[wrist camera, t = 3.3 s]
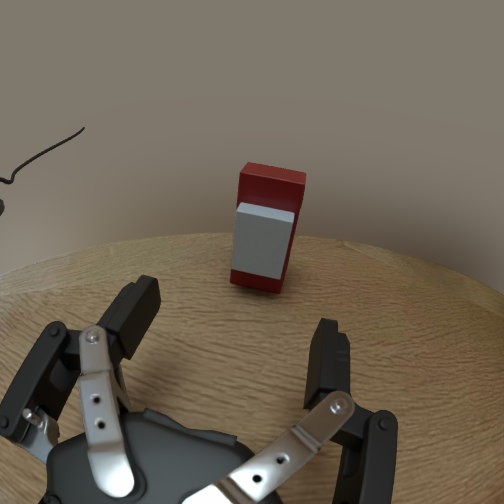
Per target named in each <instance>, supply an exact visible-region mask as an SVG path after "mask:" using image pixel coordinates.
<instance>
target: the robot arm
mask: <svg viewBox="0 0 504 504" xmlns="http://www.w3.org/2000/svg"><path fill="white" fill-rule="evenodd" d="M84 129H85V128H84V127H83V128H82V129H81V130H80V131H79V132H77V133H76V134H74V135H73V136H71V137H69V138H67V139H65V140H63V141H61V142H59V143H58V144H56V145H54V146H52V147H50V148H48V149H46V150H44V151H43V152H41V153H39V154H37V155H36V156H34V157H32V158H31V159H29V160H28V161H26V162H25V163H23V164H22V165H20V166H19V167H18V168H17V169H15V170H14V172H13V173H12V176H11V180H6V179H4V178H1V177H0V182H3V183H5V184H11V183H13V181H14V177H15V174H16V173H17V172H18V171H19V170H20V169H21V168H23V167H24V166H26V165H27V164H29V163H30V162H31V161H33V160H35V159H36V158H38V157H39V156H41V155H43V154H44V153H47V152H48V151H50V150H52V149H54V148H56V147H57V146H59V145H61V144H63V143H65V142H67V141H68V140H71V139H72V138H74V137H76V136H77V135H78V134H80V133H81V132H82V131H83V130H84ZM160 304H161V297H160V291H159V285H158V280H157V279H156V278H153V277H150V276H146V275H141V276H140V278H139V279H138V280H137V282H136V283H133V282H131V283H129V284H128V285H126V286H125V287H123V289H122V290H121V291H120V293H119V294H118V296H117V297H116V298H115V299H114V301H113V303H111V305H110V306H109V307H108V309H107V310H106V312H105V313H104V314H103V316H102V317H101V319H100V320H99V322H98V323H97V324H96V325H91V326H88V327H86V328H85V329H83V330H82V331H79V330H69V329H67V328H66V326H65V325H64V323H62V322H60V321H54V322H51V323H50V324H48V325H47V326H46V327H45V329H44V330H43V332H42V333H41V335H40V336H39V338H38V339H37V341H36V342H35V344H34V346H33V347H32V349H31V350H30V352H29V353H28V355H27V357H26V358H25V360H24V362H23V363H22V365H21V367H20V369H19V370H18V372H17V374H16V375H15V377H14V379H13V381H12V383H11V385H10V386H9V388H8V390H7V392H6V394H5V396H4V398H3V400H2V402H1V404H0V435H1V436H3V437H4V438H6V439H8V440H9V441H10V442H11V443H13V444H15V445H17V446H18V447H20V448H22V449H24V450H26V451H27V452H28V453H30V454H31V455H32V456H34V457H35V458H36V459H38V460H39V461H41V462H42V463H43V464H45V465H46V469H47V489H46V493H45V495H44V496H43V498H42V499H41V501H40V502H39V503H38V504H283V502H282V500H281V499H280V497H279V495H278V494H277V492H276V490H275V489H276V488H277V487H279V486H280V485H281V484H283V483H284V482H285V481H286V480H287V479H289V478H290V477H291V476H292V475H293V474H295V473H296V472H297V471H298V470H299V469H300V468H301V467H303V466H304V465H305V464H306V463H307V462H308V461H309V460H310V459H311V458H312V457H314V456H315V455H316V454H317V453H318V452H319V450H320V449H321V447H322V446H323V445H324V444H325V443H326V442H327V441H328V440H330V441H333V442H335V443H337V444H340V445H342V446H343V448H342V455H341V461H340V467H339V472H338V477H337V482H336V487H335V492H334V497H333V501H332V504H391V499H392V492H393V484H394V476H395V466H396V453H397V434H398V422H397V419H396V417H395V416H394V414H393V413H391V412H390V411H387V410H380V411H377V412H375V413H374V412H371V411H369V410H367V409H364V408H362V407H360V406H358V405H357V404H356V403H355V402H354V400H353V399H352V397H351V393H350V343H349V340H348V338H347V336H346V334H344V333H338V322H337V321H336V320H330V319H325V318H321V320H320V322H319V324H318V327H317V329H316V331H315V333H314V335H313V338H312V341H311V345H310V353H309V363H308V372H307V381H306V390H305V398H304V406H303V409H309V413H308V414H307V415H306V416H305V417H303V418H302V419H301V420H300V421H299V422H298V423H297V424H295V425H294V426H292V427H291V428H289V429H288V430H287V431H286V432H285V433H283V434H282V435H281V436H280V437H278V438H277V439H276V440H275V441H273V442H272V443H271V444H270V445H268V446H267V447H266V448H264V449H263V450H262V451H260V452H259V453H258V454H256V455H255V454H254V453H253V452H252V451H251V450H250V449H249V448H248V447H247V446H245V445H244V444H242V443H240V442H238V441H236V439H237V436H234V435H229V434H225V433H222V432H218V431H214V430H197V429H188V428H186V427H184V426H182V425H181V424H179V423H178V422H176V421H174V420H173V419H171V418H170V417H168V416H167V415H164V414H161V413H159V412H156V411H154V410H151V409H148V408H145V410H144V412H133V408H132V406H131V403H130V401H129V398H128V395H127V391H126V387H125V382H124V378H123V373H122V368H121V364H120V362H121V360H122V358H126V359H128V360H131V358H132V356H133V354H134V353H135V351H136V349H137V347H138V345H139V344H140V342H141V340H142V338H143V337H144V335H145V333H146V331H147V330H148V328H149V326H150V324H151V323H152V321H153V319H154V318H155V316H156V314H157V312H158V311H159V308H160ZM80 373H81V375H80ZM77 379H78V388H79V396H80V403H81V410H82V416H83V422H84V427H85V432H84V433H82V434H79V435H77V436H75V437H73V438H70V439H68V440H66V441H63V442H61V443H59V444H58V438H59V437H60V432H59V426H58V423H57V420H58V418H59V416H60V414H61V412H62V410H63V407H64V405H65V403H66V401H67V399H68V397H69V395H70V393H71V391H72V389H73V387H74V385H75V383H76V381H77Z"/></svg>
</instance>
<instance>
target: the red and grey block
mask: <svg viewBox="0 0 504 504" xmlns="http://www.w3.org/2000/svg"><path fill="white" fill-rule="evenodd" d="M305 182H306V173H303V172H298V171H294V170H288V169H284V168H278V167H273V166H268V165H262V164H256V163H250V162H248V163H247V164H246V165H245V166H244V168H243V169H242V170H241V172H240V176H239V186H238V197H237V207H236V217H235V228H234V239H233V250H232V262H231V276H230V283H234V284H238V285H242V286H247V287H251V288H256V289H260V290H265V291H269V292H274V293H278V294H280V292H281V288H282V284H283V280H284V276H285V272H286V269H287V266H288V261H289V257H290V251H291V247H292V242H293V238H294V234H295V229H296V225H297V221H298V216H299V212H300V208H301V205H302V201H303V195H304V190H305Z"/></svg>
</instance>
